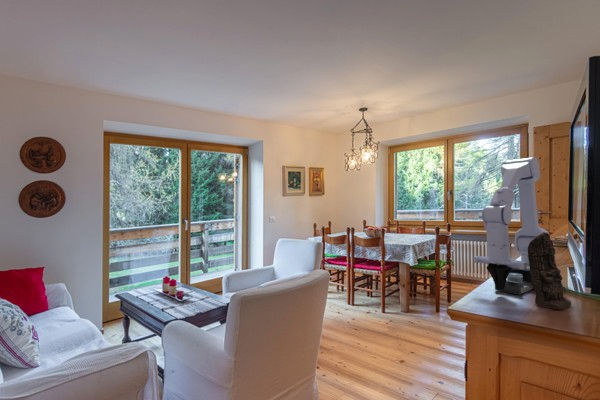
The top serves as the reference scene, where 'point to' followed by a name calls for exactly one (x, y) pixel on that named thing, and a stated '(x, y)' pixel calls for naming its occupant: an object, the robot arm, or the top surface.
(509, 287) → the tray
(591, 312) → the top surface
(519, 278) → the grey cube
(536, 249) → the statue
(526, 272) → the player housing
